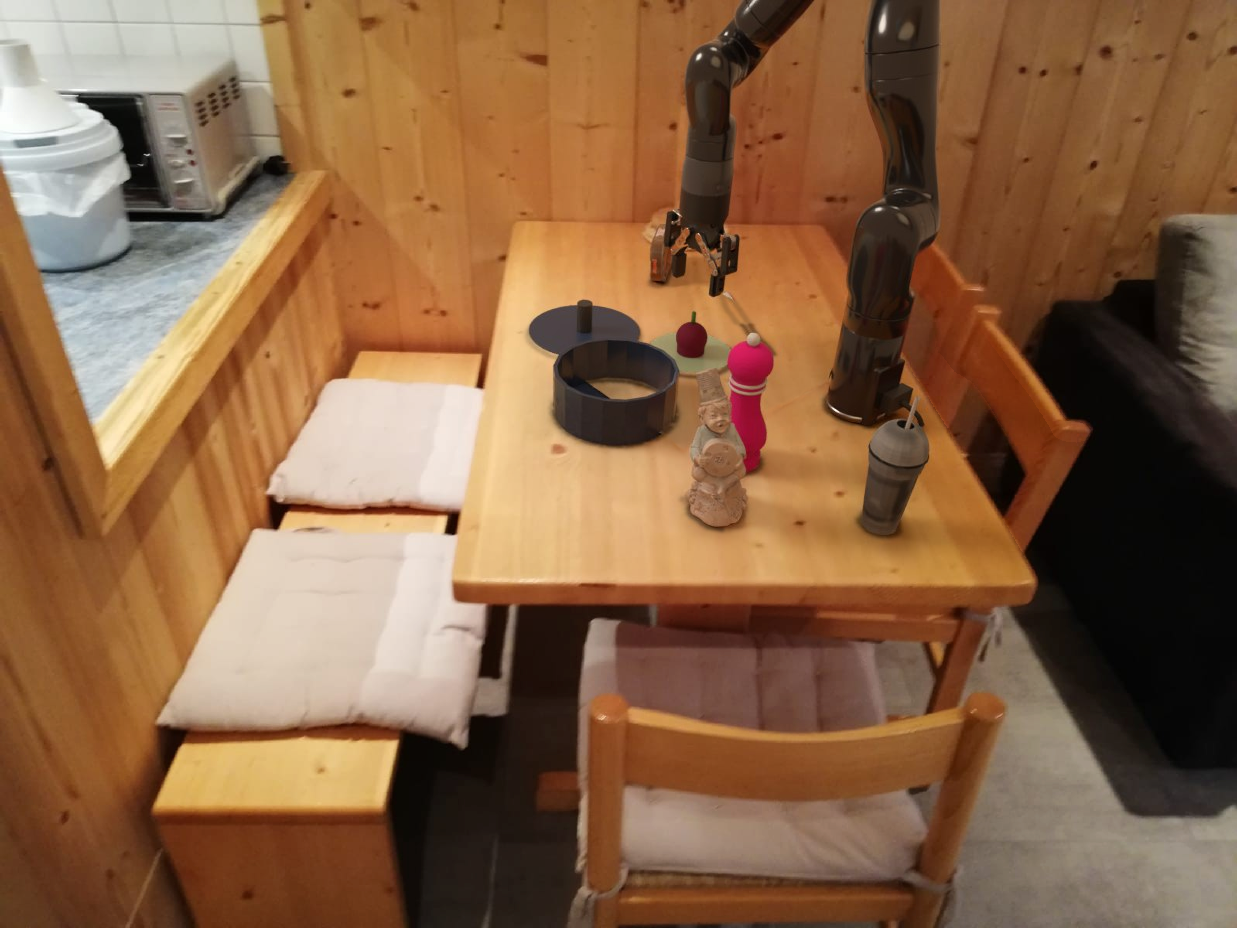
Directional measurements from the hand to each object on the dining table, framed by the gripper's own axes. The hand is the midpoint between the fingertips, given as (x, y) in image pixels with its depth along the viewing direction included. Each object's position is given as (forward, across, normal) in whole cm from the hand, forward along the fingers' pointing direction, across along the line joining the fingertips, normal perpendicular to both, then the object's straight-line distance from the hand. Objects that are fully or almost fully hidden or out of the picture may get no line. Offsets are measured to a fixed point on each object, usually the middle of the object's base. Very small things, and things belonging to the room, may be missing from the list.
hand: (696, 285), depth 144 cm
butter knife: (+13, +3, -16) cm, 21 cm away
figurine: (+13, -32, +25) cm, 43 cm away
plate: (+13, 0, 0) cm, 13 cm away
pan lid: (+12, +16, +10) cm, 22 cm away
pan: (+13, -6, +21) cm, 25 cm away
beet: (+12, 0, 0) cm, 12 cm away
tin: (+13, +28, -18) cm, 36 cm away
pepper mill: (+13, -26, +15) cm, 33 cm away
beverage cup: (+12, -47, +10) cm, 50 cm away
